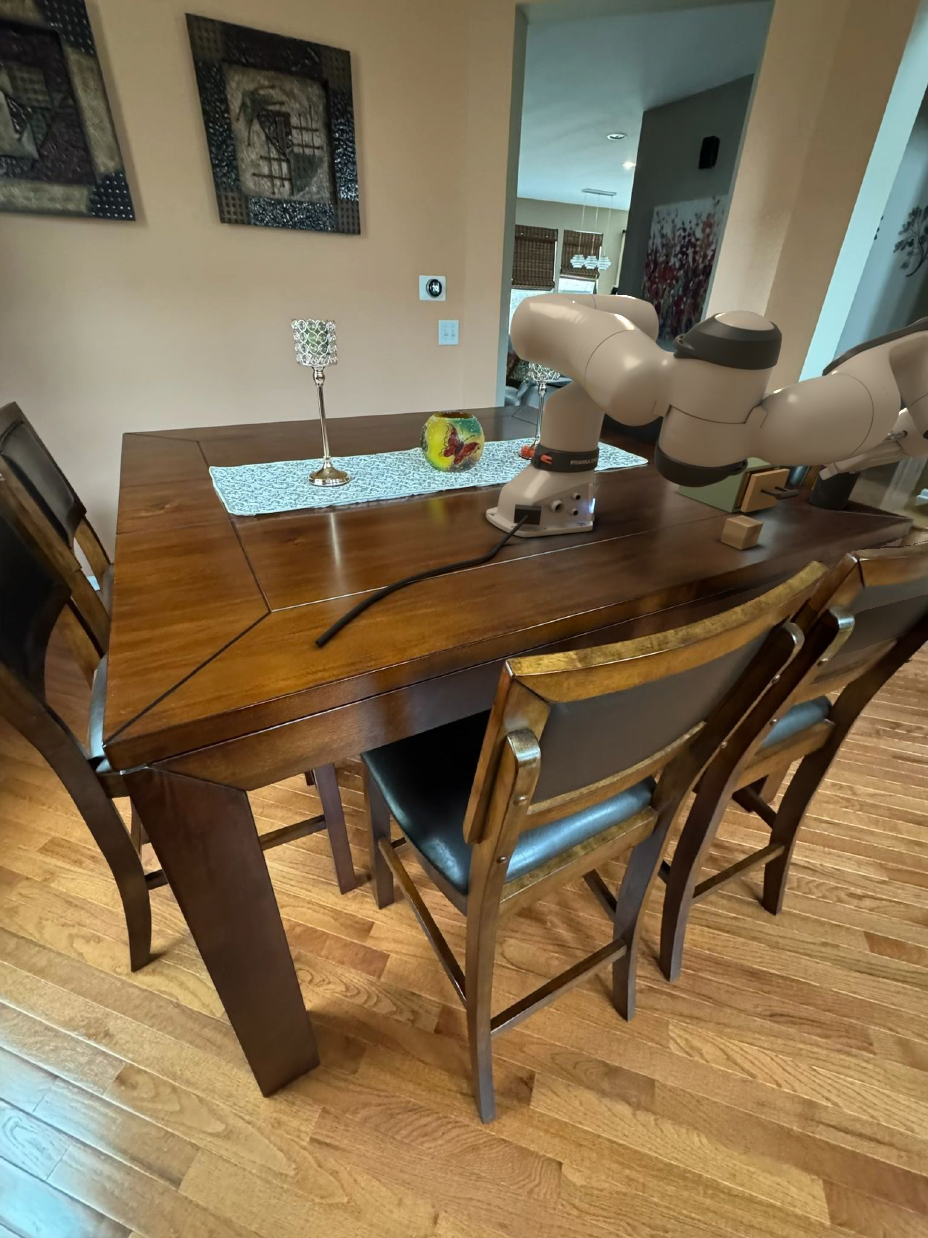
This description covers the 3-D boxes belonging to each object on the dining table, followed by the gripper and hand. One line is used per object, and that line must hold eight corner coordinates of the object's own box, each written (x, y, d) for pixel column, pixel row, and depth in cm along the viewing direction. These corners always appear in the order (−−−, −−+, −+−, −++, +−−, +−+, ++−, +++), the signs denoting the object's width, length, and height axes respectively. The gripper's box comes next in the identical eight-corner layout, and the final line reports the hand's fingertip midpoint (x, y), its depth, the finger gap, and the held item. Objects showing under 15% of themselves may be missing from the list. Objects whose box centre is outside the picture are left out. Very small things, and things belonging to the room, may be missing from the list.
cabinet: (766, 504, 121) (781, 462, 116) (731, 512, 115) (744, 468, 110) (712, 486, 132) (724, 446, 127) (677, 492, 126) (687, 451, 121)
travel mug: (809, 506, 121) (846, 413, 110) (805, 496, 127) (839, 407, 117) (848, 512, 119) (889, 417, 108) (842, 501, 125) (879, 411, 114)
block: (740, 550, 98) (748, 526, 96) (719, 541, 101) (726, 518, 99) (755, 545, 100) (763, 523, 98) (734, 537, 103) (742, 515, 101)
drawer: (798, 512, 115) (812, 476, 111) (766, 520, 110) (779, 482, 105) (725, 487, 128) (735, 454, 124) (693, 493, 123) (702, 459, 119)
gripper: (896, 453, 84) (812, 495, 96) (955, 441, 93) (872, 481, 105) (878, 417, 85) (797, 463, 97) (939, 410, 94) (858, 453, 106)
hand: (836, 473), depth 101 cm, fingers open, 8 cm apart
